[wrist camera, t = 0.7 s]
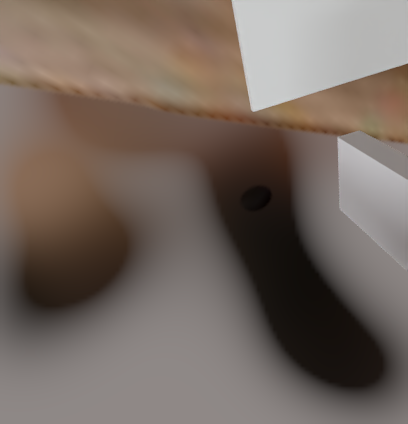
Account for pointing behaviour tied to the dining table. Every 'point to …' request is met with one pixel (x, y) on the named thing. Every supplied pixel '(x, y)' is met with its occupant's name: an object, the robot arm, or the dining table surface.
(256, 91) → the mat
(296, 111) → the dining table surface
